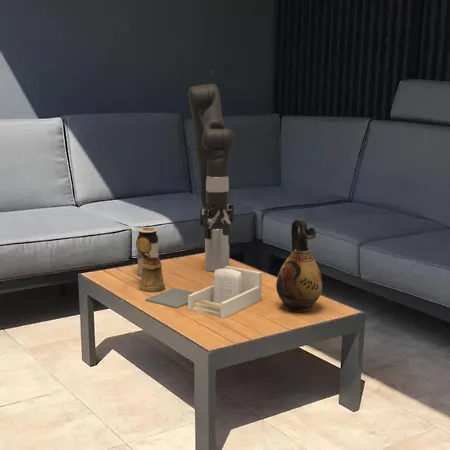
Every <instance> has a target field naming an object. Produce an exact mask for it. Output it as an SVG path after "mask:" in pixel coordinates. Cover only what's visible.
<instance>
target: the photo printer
mask: <svg viewBox="0 0 450 450" xmlns="http://www.w3.org/2000/svg"><path fill="white" fill-rule="evenodd" d="M213 285H214V295H213V301H212V302H214V303H219V304H221V303H222V302H224V301H226V300H228V299H230V298H233V297H235V296H237V295H239V294H241V293H242V286H243V275H242V273H241V272H239V271H236V270H233V269H227V268H223V269H217V270H215V272H214V273H213Z"/></svg>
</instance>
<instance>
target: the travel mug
mask: <svg viewBox="0 0 450 450" xmlns="http://www.w3.org/2000/svg"><path fill="white" fill-rule="evenodd" d="M157 231H158V228H155V227H140V228H138V229H137V232H138V236H137V238H136V240H137V239H138V238H139V237H140V236H143V237H145V238H147V239H148V240H149V241H150V243H151V247H152V249H151V251H150V252H149V254H150V258H159V237H158V234H157ZM136 249H137V248H136ZM145 253H146V252H145ZM142 263H143V255H142V253H141V252H139V251H138V249H137V275H138V276H140V277H142V269H143V268H142Z"/></svg>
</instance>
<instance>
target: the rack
mask: <svg viewBox="0 0 450 450" xmlns="http://www.w3.org/2000/svg"><path fill="white" fill-rule="evenodd" d="M225 268H227V269H233V270H236V271H239V272H241V273H242V275H243V286H242V293H241V294H239V295H237V296H235V297H233V298H230V299H228V300H226V301H224V302H222V303H221V317H220V318H221V319H225V318H227V317H229V316H231V315H233V314H235V313H238V312H240V311H242V310H244V309H246V308H247V307H250V306H252V305H254V304H257V303H258V302H260V301H262V281H263V280H262V276H263V274H262V271H256V270H251V269H247V268H240V267H235V266H230V265H229V266H225ZM213 295H214V284H212V285H210V286H207V287H205V288H202V289H200V290H198V291H195V292H194V293H193V294H190V295H188V304H187V310H188V311H192V308H193V307H195V303H197V302H199V301H201V300H205V301H209V302H213Z"/></svg>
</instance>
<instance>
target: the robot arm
mask: <svg viewBox="0 0 450 450" xmlns="http://www.w3.org/2000/svg"><path fill="white" fill-rule="evenodd" d="M220 95H221V94H220V90H219V87H218V86H217V85H216V84H215V83H207V84H199V85H193V86H190V87H189V88H188V102H189V108H190V114H191V118H192V123H193V129H194V131H193V132H194V141H195V151H196V158H197V166H198V171H199V183H200V184H199V185H200V201H201V206H202V207H203V208H201V209H200V214H199V227H202V228H203V229H204V245H205V246H204V269H205V271H207V272H208V271H209V272H215V270H217V269H223V268H225V266H230V244H229V235H230V224H231V223H232V222H234V221H235V215H234V214H235V211H234V208H235V207H234V204H230V202H231V194H230V188H229V187H230V184H229V183H230V182H229V181H230V180H229V163H230V162H229V159H230V156H231V152H232V149H233V145H234V141H235V136H234V132H233V131H232V130H231V129H230V128H226V126H225V122H224V119H223V116H222V115H223V114H222V103H221V96H220ZM201 112H204V113H203V115H201Z"/></svg>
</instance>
